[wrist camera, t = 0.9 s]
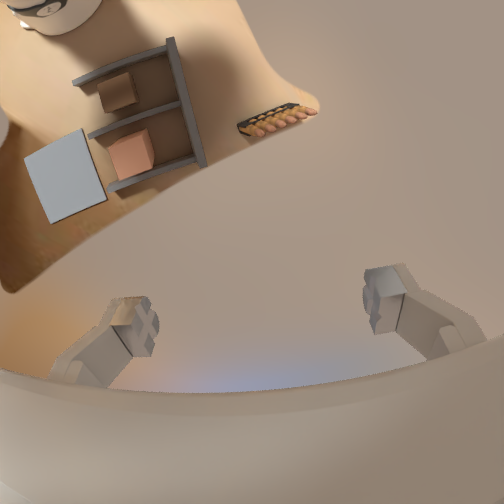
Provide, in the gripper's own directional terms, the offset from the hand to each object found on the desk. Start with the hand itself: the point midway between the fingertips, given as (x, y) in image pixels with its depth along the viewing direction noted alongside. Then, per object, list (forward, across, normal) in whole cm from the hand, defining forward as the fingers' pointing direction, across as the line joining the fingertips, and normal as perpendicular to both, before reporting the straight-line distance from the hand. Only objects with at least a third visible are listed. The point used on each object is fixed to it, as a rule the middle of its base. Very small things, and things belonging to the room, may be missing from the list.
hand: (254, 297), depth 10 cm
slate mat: (+35, +35, -1) cm, 49 cm away
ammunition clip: (+46, -2, 0) cm, 46 cm away
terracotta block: (+39, +20, -1) cm, 44 cm away
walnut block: (+39, +21, -11) cm, 46 cm away
